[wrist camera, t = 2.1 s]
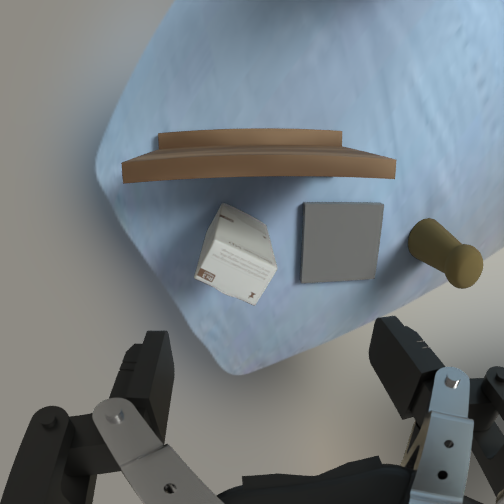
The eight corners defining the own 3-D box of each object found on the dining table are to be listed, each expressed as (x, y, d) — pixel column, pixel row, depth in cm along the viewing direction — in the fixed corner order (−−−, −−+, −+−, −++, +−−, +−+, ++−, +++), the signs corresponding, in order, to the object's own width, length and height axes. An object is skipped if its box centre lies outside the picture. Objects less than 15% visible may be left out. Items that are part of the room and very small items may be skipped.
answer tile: (303, 202, 37) (305, 204, 36) (380, 202, 38) (383, 204, 37) (299, 279, 41) (301, 283, 40) (371, 275, 42) (374, 278, 41)
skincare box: (267, 223, 38) (283, 266, 27) (249, 255, 39) (257, 308, 28) (220, 200, 36) (216, 234, 25) (202, 233, 38) (192, 280, 27)
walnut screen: (160, 133, 33) (119, 138, 20) (338, 130, 34) (397, 137, 21) (162, 176, 35) (125, 207, 22) (337, 173, 36) (393, 201, 23)
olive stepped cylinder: (404, 260, 41) (447, 299, 31) (411, 217, 39) (460, 248, 29) (437, 258, 41) (482, 294, 31) (445, 218, 39) (495, 247, 29)
